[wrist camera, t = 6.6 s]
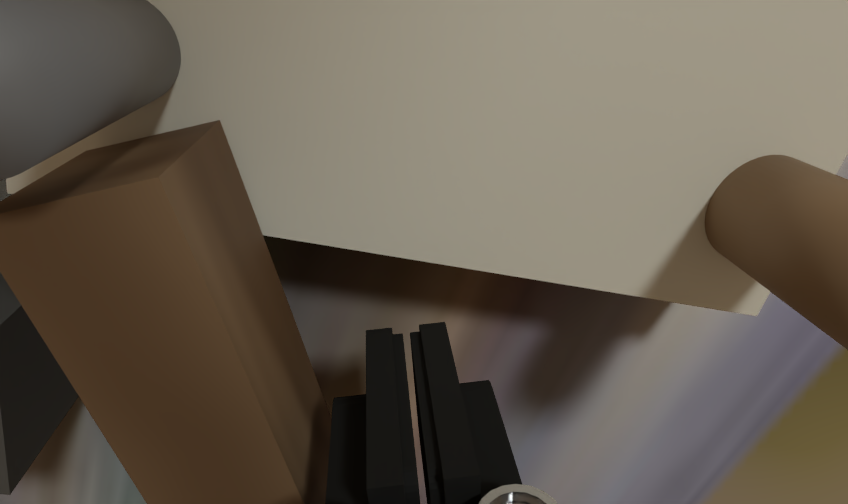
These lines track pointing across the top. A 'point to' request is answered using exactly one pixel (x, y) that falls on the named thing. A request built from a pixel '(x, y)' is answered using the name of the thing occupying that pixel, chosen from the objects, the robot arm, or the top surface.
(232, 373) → the hinged leg
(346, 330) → the top surface
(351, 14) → the seat board
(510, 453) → the robot arm
